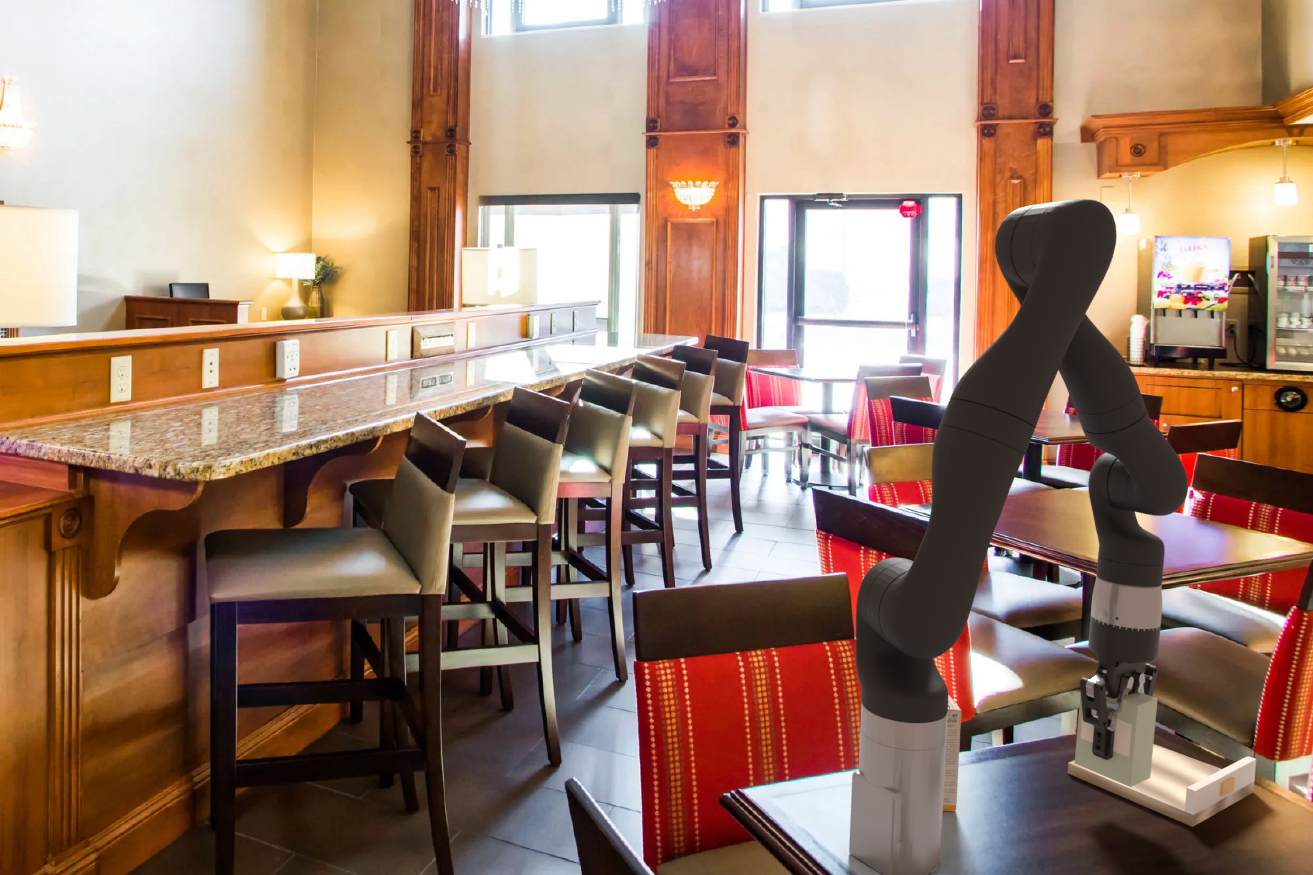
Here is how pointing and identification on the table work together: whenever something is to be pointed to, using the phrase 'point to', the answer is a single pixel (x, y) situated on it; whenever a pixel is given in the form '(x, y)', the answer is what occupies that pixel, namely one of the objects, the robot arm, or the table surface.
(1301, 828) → the table surface
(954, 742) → the supplement box
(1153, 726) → the carton
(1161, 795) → the shelf board
